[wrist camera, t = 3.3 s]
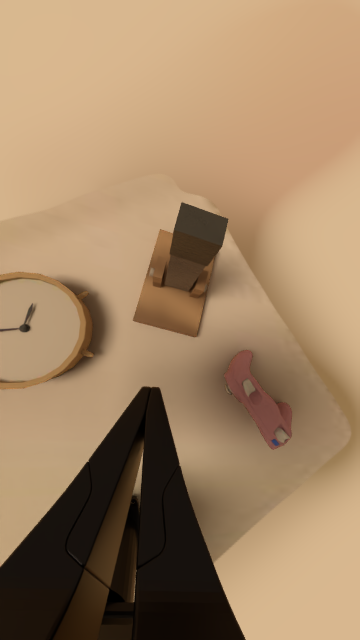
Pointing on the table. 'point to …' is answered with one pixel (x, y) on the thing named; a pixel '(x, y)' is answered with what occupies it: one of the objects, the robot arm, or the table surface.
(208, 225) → the lever
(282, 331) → the table surface
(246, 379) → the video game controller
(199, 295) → the base
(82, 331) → the alarm clock
